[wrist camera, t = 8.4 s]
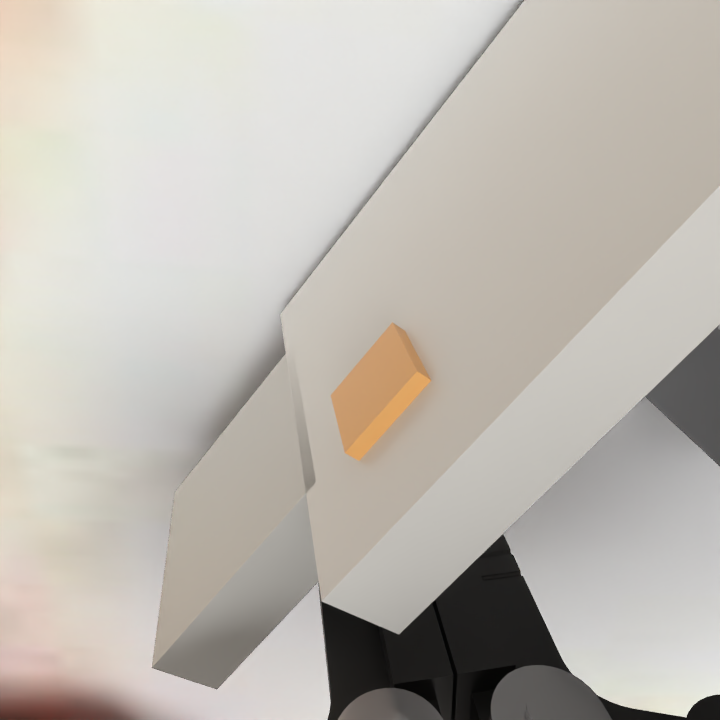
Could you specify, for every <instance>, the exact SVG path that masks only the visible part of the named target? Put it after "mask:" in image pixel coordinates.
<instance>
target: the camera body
mask: <svg viewBox="0 0 720 720" xmlns="http://www.w3.org/2000/svg"><path fill="white" fill-rule="evenodd" d="M645 397H646V398H647V399H648V400H649V401H650V402H652V403H653V404H654V405H655V406H656V407H657V408H658V409H659V410H660V411H661V412H662V413H663V414H664V415H665V416H667V417H668V418H669V419H670V420H671V421H672V422H673V423H674V424H675V425H676V426H677V427H678V428H679V429H680V430H682V431H683V432H684V433H685V434H686V435H687V436H688V437H689V438H690V439H691V440H692V441H693V442H694V443H695V444H697V445H698V446H699V447H700V448H701V449H702V450H703V451H704V452H705V453H706V454H707V455H708V456H709V457H710V458H712V459H713V460H714V461H715V462H716V463H717V464H718V465H719V466H720V324H719V325H718V326H717V327H716V328H715V329H714V330H713V331H712V332H711V333H710V334H709V335H708V336H707V337H706V338H705V339H704V340H703V341H702V342H701V343H700V344H699V345H698V346H697V347H696V348H695V349H693V350H692V351H691V352H690V353H689V354H688V355H687V356H686V357H685V358H684V359H683V360H682V361H681V362H680V363H679V364H678V365H677V366H676V367H675V368H674V369H673V370H672V371H671V372H670V373H669V374H668V375H667V376H666V377H665V378H664V379H662V380H661V381H660V382H659V383H658V384H657V385H656V386H655V387H654V388H653V389H652V390H651V391H650V392H649V393H648V394H647V395H646V396H645Z"/></svg>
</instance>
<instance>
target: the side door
mask: <svg viewBox="0 0 720 720" xmlns="http://www.w3.org/2000/svg"><path fill="white" fill-rule="evenodd" d="M280 318H281V325H282V332H283V338H284V345H285V352H286V354H285V355H284V356H283V357H282V359H281V360H280V361H279V362H278V364H277V365H276V366H275V367H274V369H273V370H272V371H271V372H270V374H269V375H268V376H267V377H266V379H265V380H264V381H263V382H262V384H261V385H260V386H259V387H258V389H257V390H256V391H255V392H254V394H253V395H252V396H251V397H250V399H249V400H248V401H247V402H246V404H245V405H244V406H243V407H242V409H241V410H240V411H239V412H238V414H237V415H236V416H235V417H234V419H233V420H232V421H231V422H230V424H229V425H228V426H227V427H226V429H225V430H224V431H223V432H222V434H221V435H220V436H219V437H218V439H217V440H216V441H215V442H214V444H213V445H212V446H211V447H210V449H209V450H208V451H207V452H206V454H205V455H204V456H203V457H202V459H201V460H200V461H199V462H198V464H197V465H196V466H195V467H194V469H193V470H192V471H191V472H190V474H189V475H188V476H187V477H186V479H185V480H184V481H183V482H182V484H181V485H180V486H179V487H178V489H177V490H176V491H175V494H174V502H173V509H172V517H171V525H170V533H169V540H168V548H167V556H166V563H165V571H164V579H163V586H162V594H161V602H160V610H159V617H158V625H157V633H156V640H155V648H154V656H153V663H152V668H154V669H157V670H160V671H163V672H166V673H169V674H172V675H175V676H178V677H181V678H184V679H187V680H190V681H193V682H196V683H199V684H202V685H205V686H208V687H211V688H214V689H218V688H219V687H220V686H221V684H222V683H223V682H224V681H225V680H226V679H227V678H228V677H229V676H230V675H231V674H232V673H233V672H234V671H235V670H236V669H237V667H238V666H239V665H240V664H241V663H242V662H243V661H244V660H245V659H246V658H247V657H248V656H249V655H250V654H251V653H252V652H253V651H254V649H255V648H256V647H257V646H258V645H259V644H260V643H261V642H262V641H263V640H264V639H265V638H266V637H267V636H268V635H269V634H270V632H271V631H272V630H273V629H274V628H275V627H276V626H277V625H278V624H279V623H280V622H281V621H282V620H283V619H284V618H285V617H286V616H287V614H288V613H289V612H290V611H291V610H292V609H293V608H294V607H295V606H296V605H297V604H298V603H299V602H300V601H301V600H302V599H303V598H304V596H305V595H306V594H307V593H308V592H309V591H310V590H311V589H312V588H313V587H314V586H315V585H316V584H317V583H318V582H319V587H320V594H321V601H322V602H324V603H327V604H329V605H331V606H334V607H336V608H338V609H341V610H343V611H345V612H348V613H350V614H352V615H355V616H357V617H359V618H362V619H364V620H366V621H368V622H371V623H373V624H375V625H378V626H380V627H382V628H385V629H387V630H389V631H392V632H394V633H396V634H400V633H401V632H402V631H403V630H404V629H405V628H406V627H407V626H408V625H409V624H410V623H411V622H412V621H413V620H414V619H415V618H417V617H418V616H419V615H420V614H421V613H422V612H423V611H424V610H425V609H426V608H427V607H428V606H429V605H430V604H431V603H432V602H433V601H434V600H435V599H436V598H437V597H438V596H439V595H440V594H441V593H442V592H443V591H444V590H445V589H446V588H448V587H449V586H450V585H451V584H452V583H453V582H454V581H455V580H456V579H457V578H458V577H459V576H460V575H461V574H462V573H463V572H464V571H465V570H466V569H467V568H468V567H469V566H470V565H471V564H472V563H473V562H474V561H475V560H476V559H477V558H479V557H480V556H481V555H482V554H483V553H484V552H485V551H486V550H487V549H488V548H489V547H490V546H491V545H492V544H493V543H494V542H495V541H496V540H497V539H498V538H499V537H500V536H501V535H502V534H503V533H504V532H505V531H506V530H507V529H508V528H510V527H511V526H512V525H513V524H514V523H515V522H516V521H517V520H518V519H519V518H520V517H521V516H522V515H523V514H524V513H525V512H526V511H527V510H528V509H529V508H530V507H531V506H532V505H533V504H534V503H535V502H536V501H537V500H538V499H539V498H541V497H542V496H543V495H544V494H545V493H546V492H547V491H548V490H549V489H550V488H551V487H552V486H553V485H554V484H555V483H556V482H557V481H558V480H559V479H560V478H561V477H562V476H563V475H564V474H565V473H566V472H567V471H568V470H569V469H571V468H572V467H573V466H574V465H575V464H576V463H577V462H578V461H579V460H580V459H581V458H582V457H583V456H584V455H585V454H586V453H587V452H588V451H589V450H590V449H591V448H592V447H593V446H594V445H595V444H596V443H597V442H598V441H599V440H600V439H602V438H603V437H604V436H605V435H606V434H607V433H608V432H609V431H610V430H611V429H612V428H613V427H614V426H615V425H616V424H617V423H618V422H619V421H620V420H621V419H622V418H623V417H624V416H625V415H626V414H627V413H628V412H629V411H630V410H631V409H633V408H634V407H635V406H636V405H637V404H638V403H639V402H640V401H641V400H642V399H643V398H644V397H645V396H646V395H647V394H648V393H649V392H650V391H651V390H652V389H653V388H654V387H655V386H656V385H657V384H658V383H659V382H660V381H661V380H662V379H664V378H665V377H666V376H667V375H668V374H669V373H670V372H671V371H672V370H673V369H674V368H675V367H676V366H677V365H678V364H679V363H680V362H681V361H682V360H683V359H684V358H685V357H686V356H687V355H688V354H689V353H690V352H691V351H692V350H693V349H695V348H696V347H697V346H698V345H699V344H700V343H701V342H702V341H703V340H704V339H705V338H706V337H707V336H708V335H709V334H710V333H711V332H712V331H713V330H714V329H715V328H716V327H717V326H718V325H719V324H720V0H524V2H523V3H522V4H521V5H520V7H519V8H518V9H517V11H516V12H515V13H514V14H513V16H512V17H511V18H510V20H509V21H508V22H507V23H506V25H505V26H504V27H503V29H502V30H501V31H500V32H499V34H498V35H497V36H496V38H495V39H494V40H493V41H492V43H491V44H490V45H489V47H488V48H487V49H486V50H485V52H484V53H483V54H482V56H481V57H480V58H479V59H478V61H477V62H476V63H475V65H474V66H473V67H472V68H471V70H470V71H469V72H468V74H467V75H466V76H465V77H464V79H463V80H462V81H461V83H460V84H459V85H458V86H457V88H456V89H455V90H454V92H453V93H452V94H451V95H450V97H449V98H448V99H447V101H446V102H445V103H444V104H443V106H442V107H441V108H440V109H439V111H438V112H437V113H436V115H435V116H434V117H433V118H432V120H431V121H430V122H429V124H428V125H427V126H426V127H425V129H424V130H423V131H422V133H421V134H420V135H419V136H418V138H417V139H416V140H415V142H414V143H413V144H412V145H411V147H410V148H409V149H408V151H407V152H406V153H405V154H404V156H403V157H402V158H401V160H400V161H399V162H398V163H397V165H396V166H395V167H394V169H393V170H392V171H391V172H390V174H389V175H388V176H387V178H386V179H385V180H384V181H383V183H382V184H381V185H380V187H379V188H378V189H377V190H376V192H375V193H374V194H373V196H372V197H371V198H370V199H369V201H368V202H367V203H366V205H365V206H364V207H363V208H362V210H361V211H360V212H359V214H358V215H357V216H356V217H355V219H354V220H353V221H352V223H351V224H350V225H349V226H348V228H347V229H346V230H345V232H344V233H343V234H342V235H341V237H340V238H339V239H338V241H337V242H336V243H335V244H334V246H333V247H332V248H331V250H330V251H329V252H328V253H327V255H326V256H325V257H324V259H323V260H322V261H321V262H320V264H319V265H318V266H317V267H316V269H315V270H314V271H313V273H312V274H311V275H310V276H309V278H308V279H307V280H306V282H305V283H304V284H303V285H302V287H301V288H300V289H299V291H298V292H297V293H296V294H295V296H294V297H293V298H292V300H291V301H290V302H289V303H288V305H287V306H286V307H285V309H284V310H283V311H282V312H281V314H280Z"/></svg>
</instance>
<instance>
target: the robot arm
mask: <svg viewBox="0 0 720 720" xmlns="http://www.w3.org/2000/svg"><path fill="white" fill-rule="evenodd" d="M318 584H319V582H318ZM319 594H320V587H319ZM320 605H321V615H322V624H323V634H324V643H325V653H326V662H327V671H328V681H329V690H330V700H331V706H330V713H329V717H328V720H720V695H713V696H709V697H706V698H704V699H702V700H700V701H698V702H697V703H696V704H695V705H693V707H692V708H691V709H690V711H689V712H688V715H687V718H685V717H679V716H673V715H667V714H661V713H655V712H649V711H643V710H637V709H632V708H628V707H623V706H620V705H617V704H614V703H612V702H609V701H607V700H605V699H603V698H601V697H599V696H598V695H596V694H595V693H594V692H593V690H592V689H591V688H590V687H589V686H588V685H586V684H585V683H584V682H583V681H582V680H580V679H579V678H577V677H575V676H574V675H572V673H571V672H570V671H569V669H568V668H567V667H566V665H565V664H564V662H563V660H562V658H561V656H560V654H559V652H558V650H557V648H556V646H555V644H554V641H553V639H552V637H551V635H550V633H549V631H548V629H547V627H546V624H545V622H544V620H543V618H542V616H541V614H540V612H539V609H538V607H537V605H536V603H535V601H534V599H533V597H532V595H531V592H530V590H529V588H528V586H527V584H526V582H525V580H524V578H523V576H521V574H520V569H519V567H518V565H517V563H516V561H515V558H514V556H513V555H511V552H510V548H509V546H508V544H507V541H506V539H505V537H504V535H503V534H502V535H501V536H500V537H499V538H498V539H497V540H496V541H495V542H494V543H493V544H492V545H491V546H490V547H489V548H488V549H487V550H486V551H485V552H484V553H483V554H482V555H481V556H480V557H479V558H477V559H476V560H475V561H474V562H473V563H472V564H471V565H470V566H469V567H468V568H467V569H466V570H465V571H464V572H463V573H462V574H461V575H460V576H459V577H458V578H457V579H456V580H455V581H454V582H453V583H452V584H451V585H450V586H449V587H448V588H446V589H445V590H444V591H443V592H442V593H441V594H440V595H439V596H438V597H437V598H436V599H435V600H434V601H433V602H432V603H431V604H430V605H429V606H428V607H427V608H426V609H425V610H424V611H423V612H422V613H421V614H420V615H419V616H418V617H417V618H415V619H414V620H413V621H412V622H411V623H410V624H409V625H408V626H407V627H406V628H405V629H404V630H403V631H402V632H401V633H400V634H396V633H394V632H392V631H389V630H387V629H385V628H382V627H380V626H378V625H375V624H373V623H371V622H368V621H366V620H364V619H362V618H359V617H357V616H355V615H352V614H350V613H348V612H345V611H343V610H341V609H338V608H336V607H334V606H331V605H329V604H327V603H324V602H322V601H321V594H320Z"/></svg>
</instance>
